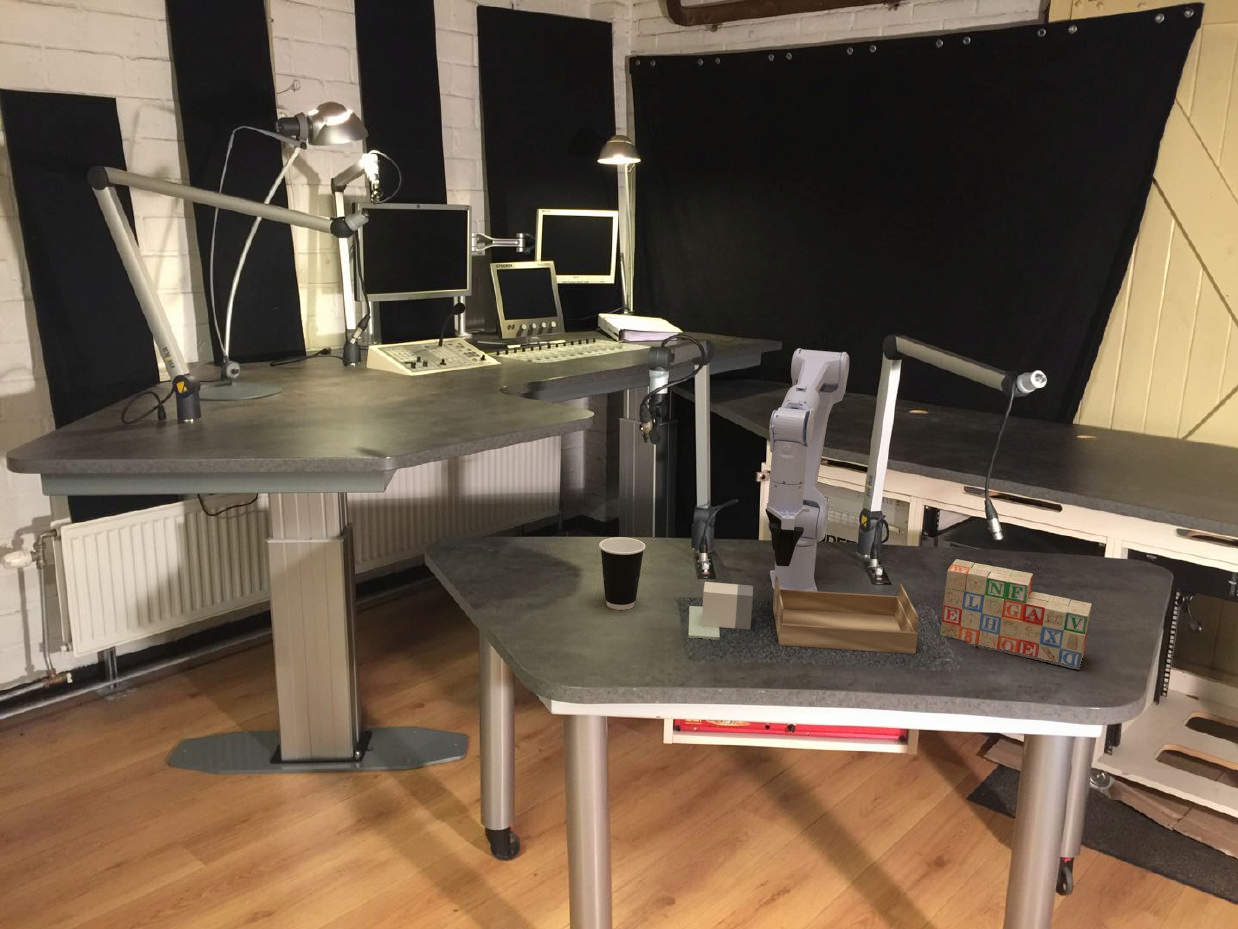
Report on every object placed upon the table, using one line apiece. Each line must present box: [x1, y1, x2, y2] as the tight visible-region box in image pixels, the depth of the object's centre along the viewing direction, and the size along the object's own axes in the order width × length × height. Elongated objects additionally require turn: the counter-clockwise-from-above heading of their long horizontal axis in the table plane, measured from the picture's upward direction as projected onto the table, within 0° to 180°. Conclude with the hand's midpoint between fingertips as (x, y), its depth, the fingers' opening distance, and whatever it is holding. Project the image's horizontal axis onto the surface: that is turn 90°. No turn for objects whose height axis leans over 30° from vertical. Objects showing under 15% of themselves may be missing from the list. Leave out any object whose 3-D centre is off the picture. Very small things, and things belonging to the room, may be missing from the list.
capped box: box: [702, 581, 754, 630], centre depth 165 cm, size 4×8×6 cm, turn 82°
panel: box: [687, 605, 721, 641], centre depth 166 cm, size 12×12×1 cm
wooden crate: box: [772, 576, 919, 655], centre depth 164 cm, size 15×21×6 cm
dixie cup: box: [598, 536, 646, 611], centre depth 171 cm, size 8×8×11 cm
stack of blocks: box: [939, 558, 1092, 669], centre depth 159 cm, size 21×6×12 cm, turn 59°
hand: (780, 557), depth 168 cm, fingers open, 7 cm apart
